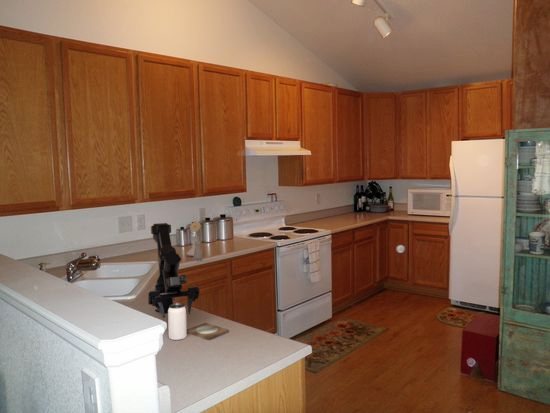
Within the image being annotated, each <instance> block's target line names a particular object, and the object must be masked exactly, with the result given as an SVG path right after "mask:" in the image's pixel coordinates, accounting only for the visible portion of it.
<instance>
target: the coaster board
mask: <svg viewBox="0 0 550 413" xmlns="http://www.w3.org/2000/svg"><path fill="white" fill-rule="evenodd" d="M229 332H230V331H229V329H228V328H224V327H221V326H218V325H214V324H211V323H209V322H203V323H201V324H198V325H194V326H193V327H190V328H187V334H189V335H192V336H195V337H198V338H201V339H204V340H208V341H212V340H214V339H216V338H218V337H221V336H224V335H226V334H227V333H228V334H229Z"/></svg>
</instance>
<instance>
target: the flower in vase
mask: <svg viewBox="0 0 550 413" xmlns="http://www.w3.org/2000/svg"><path fill="white" fill-rule="evenodd" d="M201 227H202V226H201V222H199V221H197V220H196V221H194V222H191V224H190V226H189V229H190V233H191V234H193V236H190V238H191V241H192V246H191V248H190V249H189V250H188V251H187V252H186V256H189V257H194V251H195V242H196V241H197V238H198V236H202V234H201V232H199V230H200V229H201ZM201 252H202V253H203V251H202V250H201Z"/></svg>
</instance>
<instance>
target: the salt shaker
mask: <svg viewBox="0 0 550 413" xmlns="http://www.w3.org/2000/svg"><path fill="white" fill-rule="evenodd" d="M201 244H202V243H201V241H200V240H196V242H195V251H194V256H193V259H194V261H195V260H200V261H202V259H203V251H202V248H201ZM201 251H202V252H201Z"/></svg>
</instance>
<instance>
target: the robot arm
mask: <svg viewBox="0 0 550 413" xmlns="http://www.w3.org/2000/svg"><path fill="white" fill-rule="evenodd" d="M171 233H172V225H171V224H169V223H167V222H163V223H162V222H161V223H153V225H151V226H150V234H151V235H152V239H153V240H154V242H155V243H156V247H157V248H156V249H157V250H156V251H157V263H158V272H159V273H158V274H159V276H158V277H157V280H156V282H155V285H154V290H150V291H149V292H148V294H147V295H148V296H147V301H148V302H147V303H148V305H151V306H152V307H155V308H156V309H155V310H154V311H155V312H158V313H160V315H161V316H162V318H165V317H166V315H165V314H168V309H169V306H170V305H172V304H174V302H173V301H174V298H182V297H187V313H188V315H190V314H191V312H192V311H191V309H192V304H193V302H195V301H196V300H197V299H199V297H200V296H199V295H200V288H199V286H187V290H183V291H182V289H183V285H184V284H186V283H187V281H188V280H187V275H186V274H180V276H179V268H180V262H181V261H182V257H181V256H180V255H179V254H178V253H177V250H176V248H175V247H174V246H172V240H171V235H170V234H171Z"/></svg>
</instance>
